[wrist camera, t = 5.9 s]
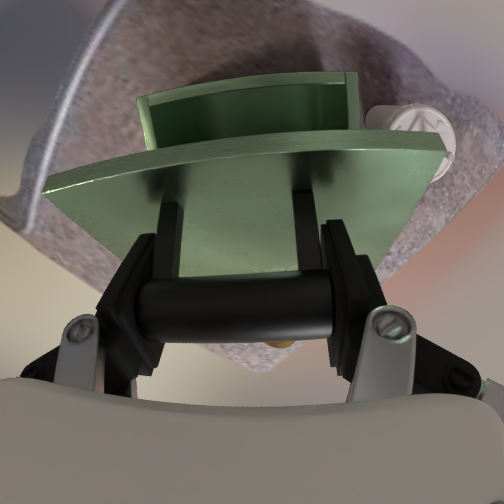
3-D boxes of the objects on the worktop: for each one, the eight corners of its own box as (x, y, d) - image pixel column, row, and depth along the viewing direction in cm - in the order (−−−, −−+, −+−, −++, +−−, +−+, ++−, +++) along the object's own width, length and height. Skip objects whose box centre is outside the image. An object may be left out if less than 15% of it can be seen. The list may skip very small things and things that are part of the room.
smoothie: (402, 88, 24) (485, 112, 13) (413, 146, 28) (487, 201, 16) (345, 98, 26) (402, 123, 14) (359, 157, 29) (412, 220, 17)
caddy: (184, 86, 26) (135, 98, 16) (324, 71, 24) (357, 71, 15) (211, 230, 35) (189, 300, 25) (330, 221, 34) (352, 291, 24)
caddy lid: (47, 175, 9) (11, 320, 7) (438, 132, 8) (496, 300, 5) (188, 299, 25) (186, 363, 23) (352, 290, 24) (359, 356, 21)
